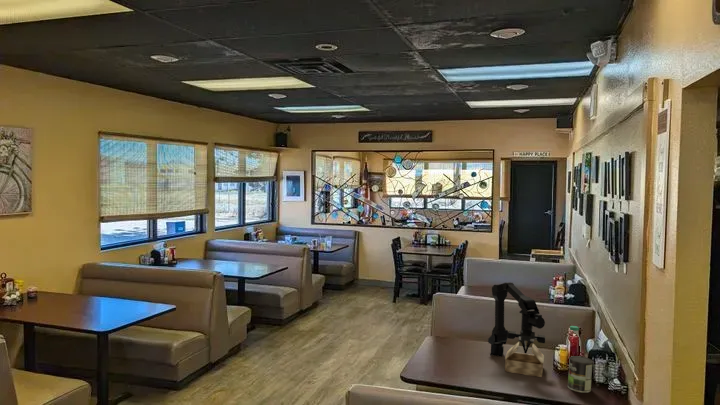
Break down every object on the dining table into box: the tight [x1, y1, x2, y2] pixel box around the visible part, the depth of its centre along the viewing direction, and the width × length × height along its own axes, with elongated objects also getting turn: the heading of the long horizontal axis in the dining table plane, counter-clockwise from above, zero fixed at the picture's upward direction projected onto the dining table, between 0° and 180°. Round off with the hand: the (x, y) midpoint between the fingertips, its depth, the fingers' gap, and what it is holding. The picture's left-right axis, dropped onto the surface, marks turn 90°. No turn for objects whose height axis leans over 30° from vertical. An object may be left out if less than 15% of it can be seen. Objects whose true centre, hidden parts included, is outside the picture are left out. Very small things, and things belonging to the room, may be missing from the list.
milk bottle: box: [565, 325, 582, 353], centre depth 291 cm, size 8×8×20 cm
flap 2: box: [530, 343, 545, 365], centre depth 274 cm, size 8×15×1 cm
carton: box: [504, 351, 544, 378], centre depth 277 cm, size 18×16×6 cm
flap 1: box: [504, 341, 521, 360], centre depth 279 cm, size 8×15×1 cm
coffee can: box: [567, 356, 594, 394], centre depth 252 cm, size 10×10×14 cm
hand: (525, 353), depth 276 cm, fingers closed
